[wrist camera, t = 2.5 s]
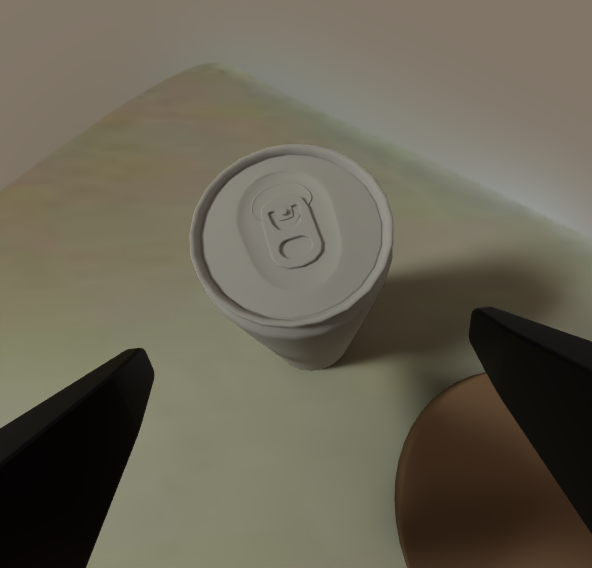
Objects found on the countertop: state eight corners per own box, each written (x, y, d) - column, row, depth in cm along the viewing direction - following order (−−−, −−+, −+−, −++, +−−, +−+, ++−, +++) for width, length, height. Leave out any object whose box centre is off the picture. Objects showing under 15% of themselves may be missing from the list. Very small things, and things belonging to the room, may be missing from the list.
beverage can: (336, 279, 19) (354, 115, 8) (364, 356, 17) (440, 292, 6) (260, 302, 19) (167, 172, 8) (282, 382, 17) (204, 366, 6)
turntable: (788, 690, 11) (857, 735, 10) (447, 744, 11) (465, 795, 10) (613, 348, 15) (643, 344, 14) (365, 394, 15) (369, 394, 14)
